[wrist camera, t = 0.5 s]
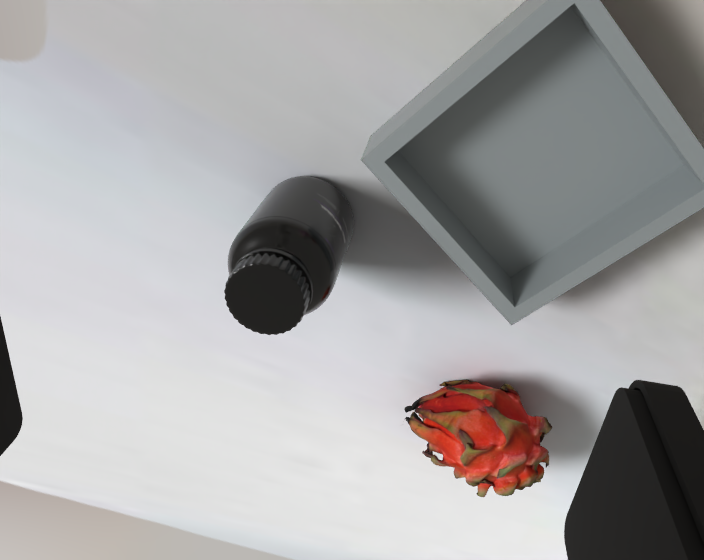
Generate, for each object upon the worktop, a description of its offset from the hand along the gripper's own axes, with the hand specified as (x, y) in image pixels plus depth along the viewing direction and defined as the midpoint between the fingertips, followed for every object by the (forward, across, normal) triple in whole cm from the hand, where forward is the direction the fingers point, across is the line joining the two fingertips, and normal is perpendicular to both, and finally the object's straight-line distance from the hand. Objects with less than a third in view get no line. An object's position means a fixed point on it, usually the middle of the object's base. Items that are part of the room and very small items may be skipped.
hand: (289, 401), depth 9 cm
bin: (+34, -8, +5) cm, 35 cm away
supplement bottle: (+34, +6, +12) cm, 37 cm away
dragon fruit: (+34, -9, +27) cm, 45 cm away
